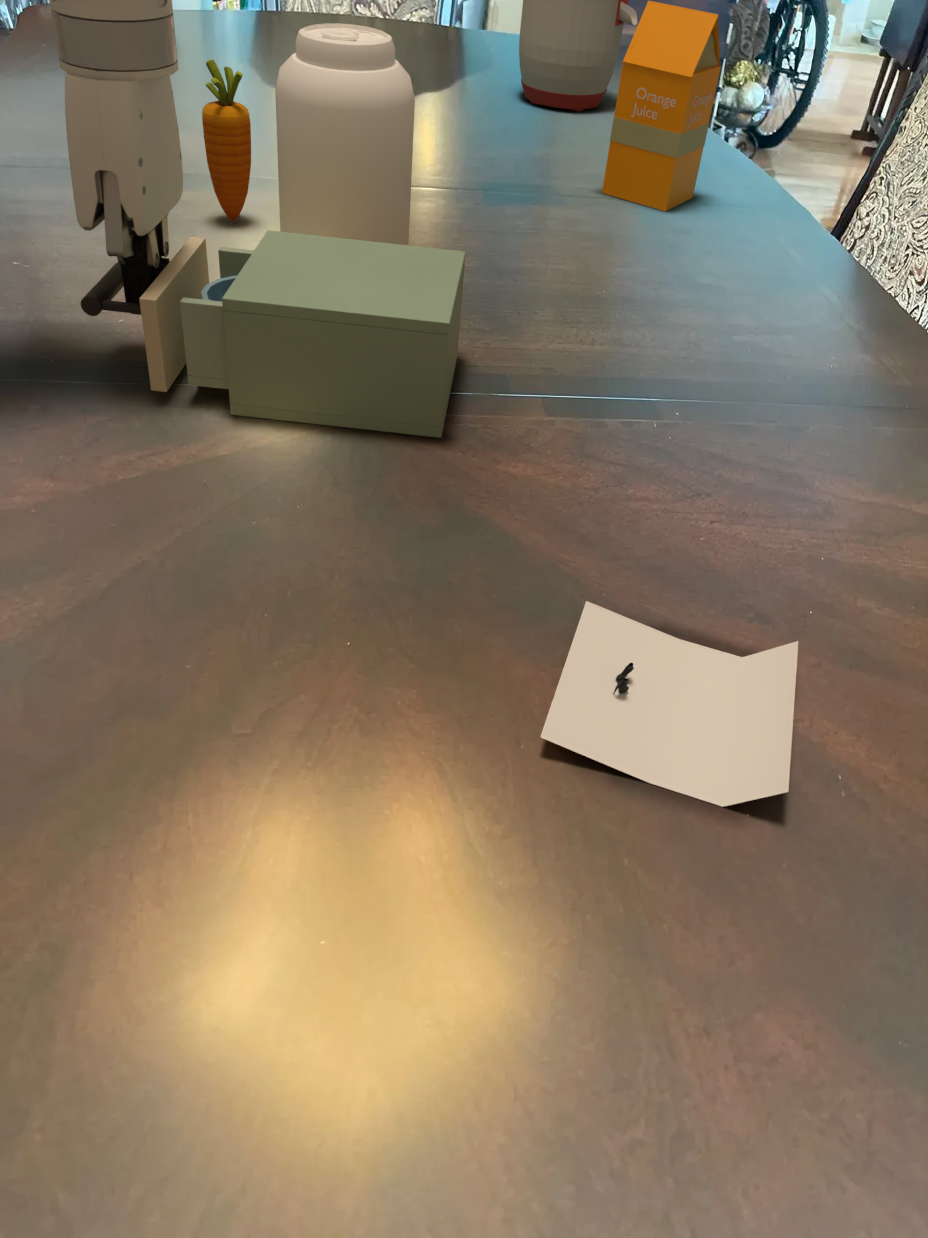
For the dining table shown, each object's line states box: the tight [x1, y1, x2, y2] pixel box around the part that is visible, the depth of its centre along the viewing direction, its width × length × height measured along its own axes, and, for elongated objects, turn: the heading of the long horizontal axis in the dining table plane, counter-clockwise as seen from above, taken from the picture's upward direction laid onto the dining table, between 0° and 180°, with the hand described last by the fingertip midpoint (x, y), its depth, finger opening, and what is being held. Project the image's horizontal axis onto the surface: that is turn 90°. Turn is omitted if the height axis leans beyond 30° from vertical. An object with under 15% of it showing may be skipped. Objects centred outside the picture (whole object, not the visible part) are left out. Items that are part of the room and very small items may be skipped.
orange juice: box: [601, 0, 722, 212], centre depth 118 cm, size 8×9×20 cm
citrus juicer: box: [518, 0, 638, 112], centre depth 150 cm, size 16×17×20 cm
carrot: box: [201, 59, 252, 223], centre depth 101 cm, size 5×5×15 cm
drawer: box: [80, 236, 255, 393], centre depth 78 cm, size 20×13×7 cm, turn 85°
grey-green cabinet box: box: [222, 229, 466, 439], centre depth 78 cm, size 16×14×9 cm
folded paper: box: [540, 600, 799, 808], centre depth 54 cm, size 12×12×2 cm
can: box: [274, 22, 416, 246], centre depth 94 cm, size 12×12×20 cm
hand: (151, 310), depth 78 cm, fingers closed
